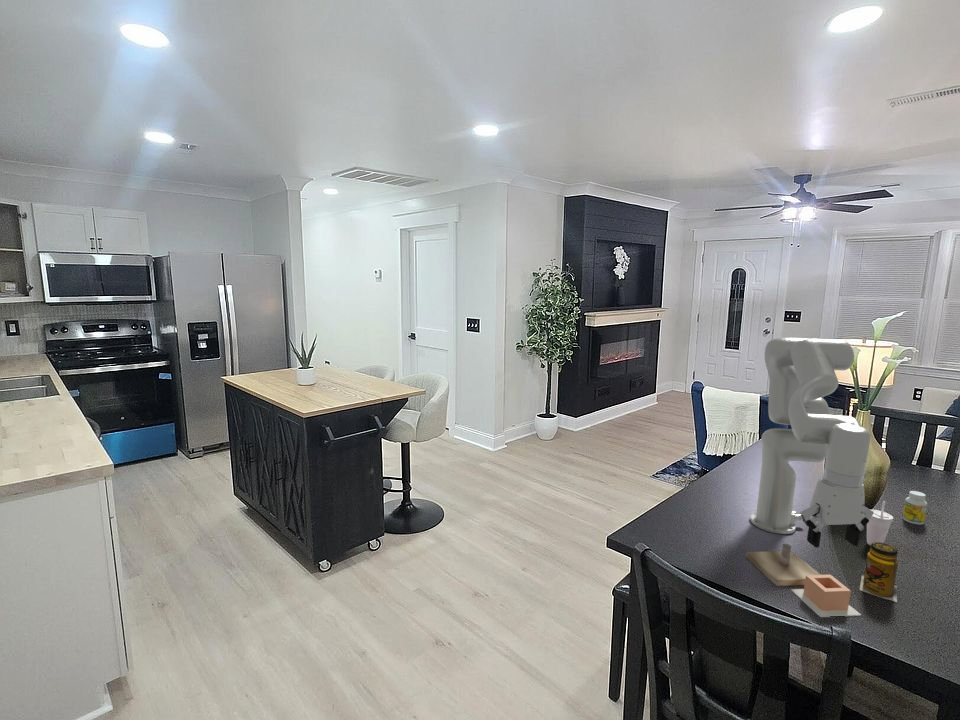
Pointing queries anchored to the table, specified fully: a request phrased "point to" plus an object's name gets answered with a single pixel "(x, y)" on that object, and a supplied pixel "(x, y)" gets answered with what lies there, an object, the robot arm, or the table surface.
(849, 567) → the table surface
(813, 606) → the mat
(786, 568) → the stand
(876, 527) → the smoothie
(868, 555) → the condiment
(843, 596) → the peach open box
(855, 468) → the robot arm
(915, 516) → the supplement bottle
